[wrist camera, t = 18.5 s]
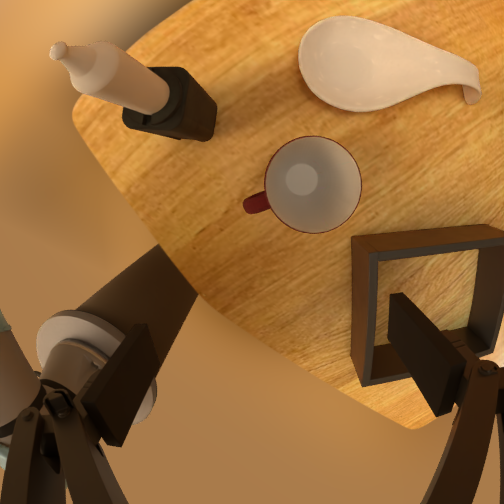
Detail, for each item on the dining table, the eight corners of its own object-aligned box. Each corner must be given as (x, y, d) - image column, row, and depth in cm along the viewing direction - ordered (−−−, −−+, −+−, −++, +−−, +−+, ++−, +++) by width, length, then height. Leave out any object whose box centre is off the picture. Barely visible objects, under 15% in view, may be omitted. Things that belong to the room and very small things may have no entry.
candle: (169, 139, 33) (3, 113, 9) (175, 97, 31) (29, 12, 7) (212, 142, 33) (88, 101, 9) (218, 99, 31) (119, -14, 7)
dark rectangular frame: (350, 355, 39) (361, 387, 33) (351, 236, 35) (368, 253, 28) (470, 330, 37) (493, 352, 31) (485, 223, 33) (515, 235, 26)
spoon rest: (300, 116, 31) (308, 104, 24) (290, 26, 28) (295, -2, 21) (471, 129, 30) (504, 126, 23) (459, 49, 26) (488, 35, 19)
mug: (270, 238, 35) (270, 266, 26) (232, 178, 34) (218, 183, 24) (349, 193, 33) (378, 204, 24) (313, 131, 32) (331, 118, 22)
